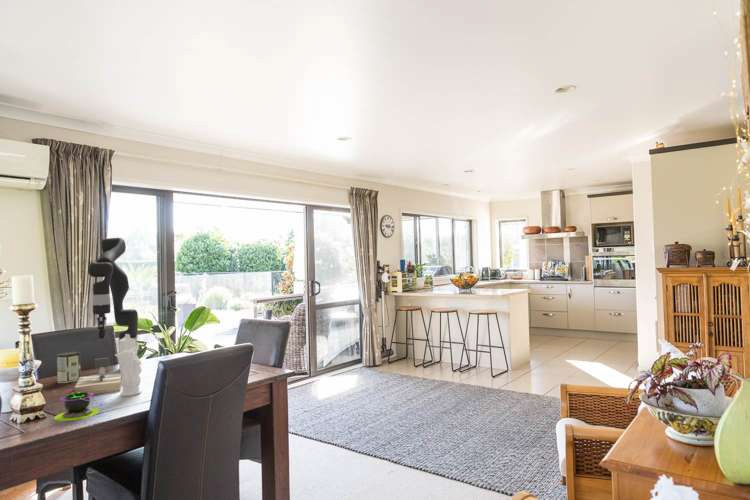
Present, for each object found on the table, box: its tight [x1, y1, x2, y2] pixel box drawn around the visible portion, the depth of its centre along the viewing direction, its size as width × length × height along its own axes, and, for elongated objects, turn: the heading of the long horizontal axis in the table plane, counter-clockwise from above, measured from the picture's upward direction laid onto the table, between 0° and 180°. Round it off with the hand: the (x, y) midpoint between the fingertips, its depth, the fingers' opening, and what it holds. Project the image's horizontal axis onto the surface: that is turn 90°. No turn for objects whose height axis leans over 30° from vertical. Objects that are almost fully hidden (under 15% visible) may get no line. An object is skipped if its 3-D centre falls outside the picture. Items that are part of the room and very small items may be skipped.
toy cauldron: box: [53, 384, 100, 422], centre depth 188 cm, size 15×15×11 cm
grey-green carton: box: [56, 350, 82, 384], centre depth 247 cm, size 10×10×14 cm
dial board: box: [74, 371, 122, 396], centre depth 230 cm, size 24×18×4 cm
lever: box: [94, 357, 110, 380], centre depth 230 cm, size 9×6×9 cm, turn 27°
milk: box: [119, 334, 136, 378], centre depth 253 cm, size 6×6×22 cm
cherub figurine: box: [114, 342, 142, 397], centre depth 218 cm, size 12×12×22 cm
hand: (102, 337), depth 233 cm, fingers open, 8 cm apart
